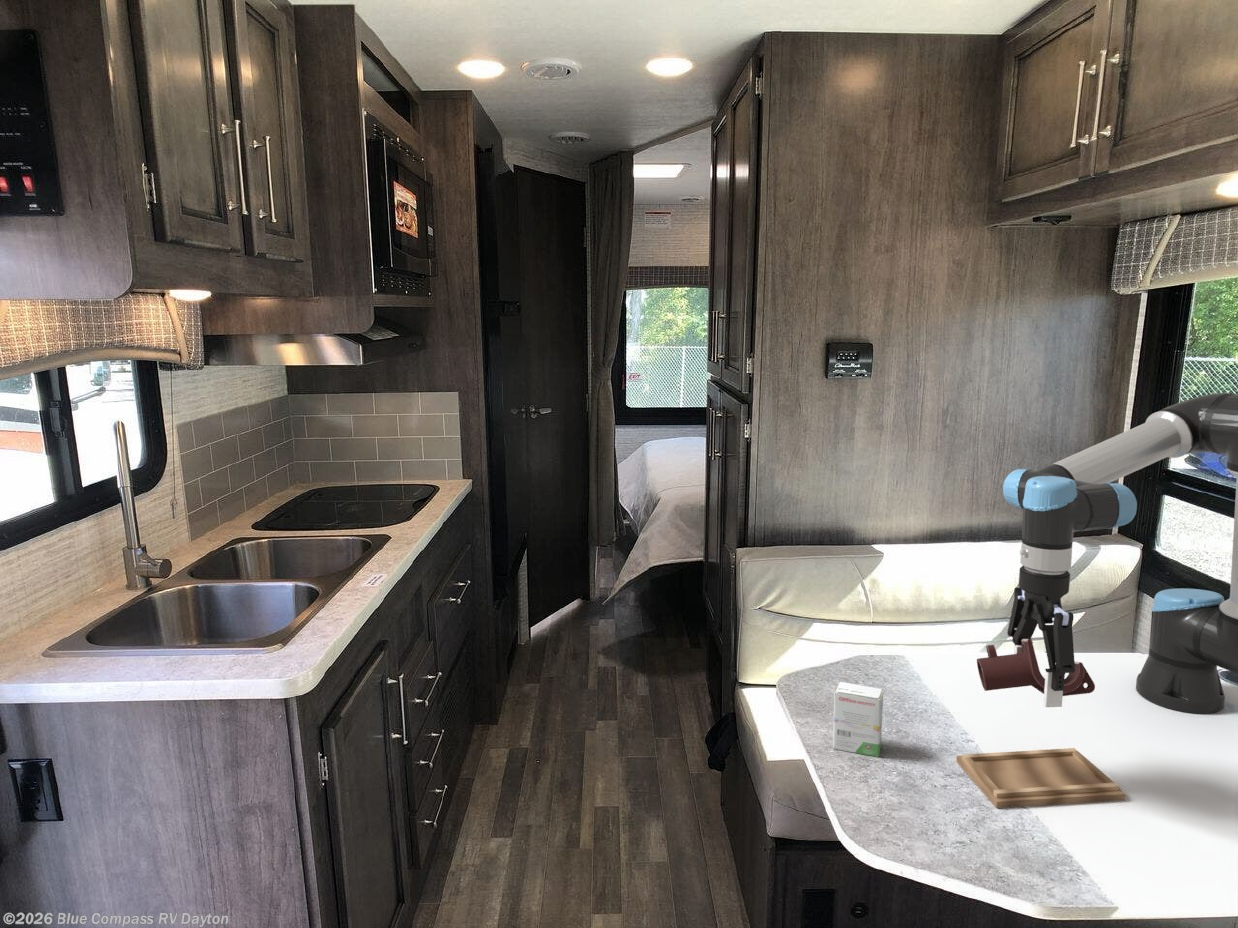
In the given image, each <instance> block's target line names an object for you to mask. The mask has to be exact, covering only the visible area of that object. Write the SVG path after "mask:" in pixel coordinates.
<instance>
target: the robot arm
mask: <svg viewBox="0 0 1238 928" xmlns="http://www.w3.org/2000/svg"><path fill="white" fill-rule="evenodd" d="M1194 453H1209V454H1217V455H1222V456H1226V457H1227V458H1226V470H1227V471H1228V472H1229V473H1230V474H1231V475H1232V476H1234V477H1235V479H1236V482H1235V483H1236V485H1235V487H1236V488H1235V498H1234V499H1235V500H1234V501H1235V503H1234V517H1233V518H1234V520H1233V535H1232V538H1233V539H1232V551H1231V571H1230V572H1231V573H1230V587H1229V589H1230V590H1229V591H1230V592H1229V598H1228V599H1226V600H1225V597H1224V595H1222V594H1221V593H1218V592H1215V591H1212V590H1207V589H1206V590H1205V589H1201V588H1200V589H1199V588H1198V589H1197V588H1184V587H1183V588H1168V589H1167V588H1166V589H1163V590H1160V591H1158V592H1157V593H1155V595H1154V598H1153V604H1152V608H1151V620H1150V621H1151V622H1150V633H1149V634H1150V635H1149V647H1148V656H1147V657H1146V660H1145V662H1144V664H1143V666H1142V669H1141V670H1140V673H1138V675H1137V676H1136V680H1135V683H1136V684H1135V690H1136V692H1137V693H1138V694H1139V695H1140V696H1141V697H1142V698H1144V699H1145V700H1146V701H1149V702H1151V703H1153V704H1155V705H1158V706H1161V707H1163V708H1167V709H1171V710H1174V711H1179V712H1185V713H1191V714H1193V713H1194V714H1213V713H1217V712H1219V711H1220V712H1221V711H1222V710H1223V708H1224V707H1225V696H1226V695H1225V691H1224V690H1223V685H1222V682H1221V679H1220V676H1219V671H1218V668H1222V669H1224V670H1227V671H1229V672H1231V673H1234V674H1237V675H1238V393H1234V392H1233V393H1230V392H1217V393H1210V394H1204V395H1201V396H1197V397H1194V398H1189V399H1186V400H1184V401H1181V402H1178V403H1175V404H1173V405H1169V406H1166V407H1165V408H1162V409H1160V410H1158V411H1156V412H1153V413H1151V414H1150V415H1148V417H1147V418H1146V420H1145V422H1144V423H1142V424H1140V425H1137V426H1135V427H1133V428H1131V429H1128V430H1126V431H1124V432H1121V433H1119V434H1116V435H1115V436H1113V437H1110V438H1108V439H1105V440H1103V441H1102V442H1099V443H1096V444H1094V445H1092V446H1089V447H1087V448H1085V449H1083V450H1081V451H1079V452H1076V453H1074V454H1072V455H1069V456H1068V457H1065V458H1063V459H1060V460H1058V461H1055V462H1053V463H1052V464H1049V465H1047V466H1044V467H1043V468H1040V469H1036V470H1033V469H1030V468H1025V469H1024V468H1017V469H1015V470H1013V471H1012V472H1010V473H1008V475H1007V476H1006V478H1005V479H1004V481H1003V485H1002V492H1003V493H1002V495H1003V497H1004V499H1005V502H1007V503H1008V504H1009V505H1011V506H1012V507H1014V508H1015V507H1016V508H1018V509H1021V510H1022V528H1021V529H1022V530H1021V531H1022V532H1021V549H1020V550H1019V555H1020V564H1021V567H1019V573H1018V574H1019V575H1018V587H1015V588H1014V589H1013V590H1014V591H1013V592H1014V593H1013V595H1014V596H1013V597H1014V598H1013V603H1012V608H1011V613H1010V618H1009V623H1008V628H1007V633H1006V634H1007V636H1008V637H1011V638H1012V644H1014V653H1013V654H1019V653H1022V646H1021V639H1030V640H1032V637H1033V635H1034V633H1035V630H1036V628H1037V626H1038V629H1039V630H1040V631H1041V632H1042V636H1043V642H1044V646H1045V647H1044V648H1045V653H1046V657H1047V662H1048V667H1049V668H1044V670H1045V676H1044V678H1045V689H1044V694H1043V705H1042V706H1043V707H1045V708H1062V707H1063V697H1064V696H1063V689H1064V679H1065V678H1066V677H1065V676H1066V674H1069V673H1074V672H1075V662H1074V661H1075V652H1074V636H1073V635H1074V634H1073V625H1074V624H1073V623H1074V619H1075V618H1074V617H1075V616H1074V613H1073V612H1072V611H1065V610H1063V606H1062V601H1061V599H1062V598H1063V597H1064V596H1066V595H1067V594H1068V593H1069V592H1070V583H1071V573H1070V572H1069V571H1070V570H1071V569H1072V558H1073V557H1072V555H1073V540H1074V533H1077V532H1079V533H1080V532H1085V531H1093V530H1094V531H1096V530H1105V529H1108V530H1110V529H1113V528H1117V527H1122V526H1126V525H1127V524H1129V523H1131V522H1132V521H1133V519H1134V518H1135V516H1136V515H1137V509H1138V501H1137V498H1136V496H1135V494H1134V493H1133V491H1132V490H1131V489H1130V488H1129V487H1127V486H1126V485H1125V484H1122V483H1115V481H1117V480H1120V479H1121V478H1124V477H1126V476H1128V475H1131V474H1132V473H1134V472H1136V471H1139V470H1142V469H1143V468H1146V467H1148V466H1150V465H1153V464H1155V463H1156V462H1159V461H1162V460H1163V459H1166V458H1171V459H1176V458H1180V457H1184V456H1186V455H1187V454H1194ZM1112 482H1113V483H1112ZM1032 643H1033V644H1034V642H1033V641H1032Z"/></svg>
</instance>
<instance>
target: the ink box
mask: <svg viewBox="0 0 1238 928" xmlns="http://www.w3.org/2000/svg"><path fill="white" fill-rule="evenodd" d="M833 693H834V694H833V695H834V696H833V729H832V730H833V731H832V732H833V733H832V734H833V736H832V748H833V749H834V750H839V751H844V752H850V753H854V754H859V755H865V756H870V757H876V758H879V757H880V753H881V748H882V731H883V712H884V711H883V710H884V709H883V707H884V689H883V688H879V687H872V686H866V685H860V684H856V683H849V682H843V681H838V683H837V685H836V686H835V689H834V692H833Z"/></svg>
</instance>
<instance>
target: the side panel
mask: <svg viewBox="0 0 1238 928" xmlns="http://www.w3.org/2000/svg"><path fill="white" fill-rule="evenodd" d="M956 764H958V765H959V767H960V768H961V769H962V770H963V772H965V774H966V775H967V776H968V777H969V778H970V780H972V782H973V783H974V784H975V786H977V787H978V789H979V790H980V791H981V793H983V795H984V796H985V797H986V798H987V799H988V801H989V802H990V803H991V804H992V805H993V806H994V807H995V809H1003V808H1005V809H1006V808H1022V807H1023V808H1024V807H1036V806H1053V805H1069V804H1071V805H1072V804H1084V803H1088V804H1089V803H1099V802H1100V803H1101V802H1102V803H1103V802H1105V803H1106V802H1117V801H1118V802H1119V801H1126V792H1125V791H1123V790H1122V789H1121V788H1119V787H1120V786H1119V785H1118V784H1117V783H1116V782H1115V781H1114V780H1112V779H1111V778H1110V777H1109V776H1107V774H1105V773H1104V772H1103V771H1102V770H1101V769H1100V768H1098V767H1097V766H1096V765H1095V764H1094V763H1092V761H1090V760H1089V759H1088V758H1087V757H1086V756H1084V755H1083V754H1082V752H1080V751H1078V750H1077V749H1076V748H1075V747H1073V748H1071V747H1069V748H1053V749H1036V750H1035V749H1034V750H1020V751H1019V750H1018V751H1017V750H1016V751H1003V752H1002V751H1001V752H985V753H983V752H982V753H970V754H969V753H968V754H967V753H966V754H961V755H956Z"/></svg>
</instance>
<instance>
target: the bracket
mask: <svg viewBox="0 0 1238 928" xmlns="http://www.w3.org/2000/svg"><path fill="white" fill-rule="evenodd" d="M1032 642H1033V640H1032V639H1031V640H1030V639H1021V646H1022V653H1019V654H1014V653H1013V654H1011V653H1010V654H1006V655H1005V654H1004V655H998V654H997V650H996V646H995V644H989V645H986V646H985V650H986V653H987V657H980V658H977V659H976V665H977V671H978V675H979V679H980V683H981V685H982V688H983V690H984V692H985V691H997V690H1004V689H1005V690H1006V689H1013V688H1020V687H1021V688H1022V687H1031V686H1032V688H1034V689H1036V690H1037V691H1039V692H1040V693H1041V694H1043V695H1044V689H1045V676H1043V675H1042V673H1041V670H1040V667H1039V663H1038V659H1037V656H1036V652H1035V647H1034V642H1033V643H1032ZM1074 662H1075V672H1074V673H1067V674H1068V675H1066V677H1065V679H1064V689H1063V697H1067V696H1077V695H1085V694H1091V693H1093V692H1094V691H1095V688H1096V685H1095V684H1096V683H1095V682H1094V681H1093V679H1092V678H1091V677H1092V676H1090V674H1089V672H1088V670H1087V669H1086V667H1085V666H1084V664H1083V662H1081V661H1075V660H1074ZM1085 684H1086V685H1087V686H1086V687H1085V686H1084V685H1085Z"/></svg>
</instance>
